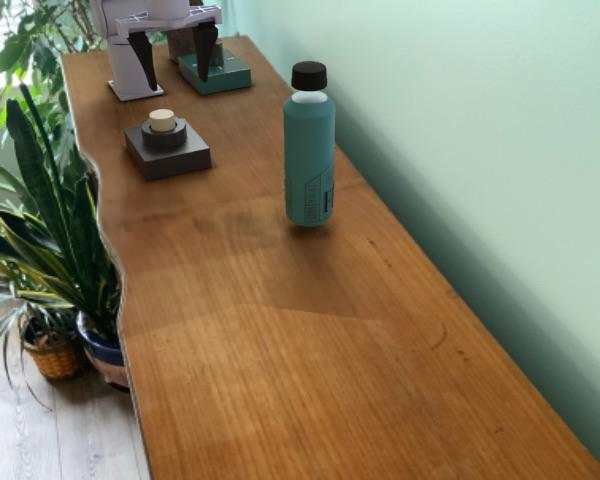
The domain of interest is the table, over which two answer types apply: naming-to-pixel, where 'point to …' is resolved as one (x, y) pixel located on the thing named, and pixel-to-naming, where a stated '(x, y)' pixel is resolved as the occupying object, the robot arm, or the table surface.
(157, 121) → the push button
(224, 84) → the dial panel
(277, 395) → the table surface
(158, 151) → the button base
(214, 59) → the knob
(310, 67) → the beverage bottle
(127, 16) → the robot arm
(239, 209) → the table surface
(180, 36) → the dark brown tall block
